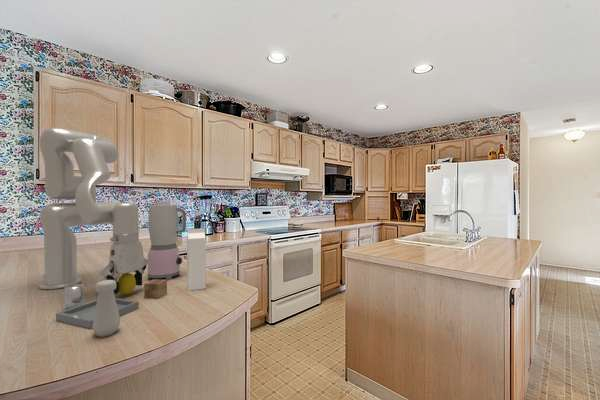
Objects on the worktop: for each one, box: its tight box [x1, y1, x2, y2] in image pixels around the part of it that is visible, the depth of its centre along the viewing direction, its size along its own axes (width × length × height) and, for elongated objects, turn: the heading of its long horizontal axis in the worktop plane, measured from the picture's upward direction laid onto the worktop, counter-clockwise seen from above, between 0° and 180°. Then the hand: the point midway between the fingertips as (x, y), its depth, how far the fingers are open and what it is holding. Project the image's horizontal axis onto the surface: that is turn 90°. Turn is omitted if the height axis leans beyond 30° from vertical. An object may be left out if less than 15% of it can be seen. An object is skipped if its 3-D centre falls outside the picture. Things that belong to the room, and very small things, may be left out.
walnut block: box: [143, 278, 168, 300], centre depth 96 cm, size 5×5×5 cm
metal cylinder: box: [64, 283, 85, 311], centre depth 85 cm, size 4×4×7 cm
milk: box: [186, 227, 207, 292], centre depth 105 cm, size 6×6×22 cm
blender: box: [147, 201, 187, 281], centre depth 118 cm, size 16×12×32 cm
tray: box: [55, 297, 140, 330], centre depth 81 cm, size 14×14×2 cm
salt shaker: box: [91, 279, 121, 338], centre depth 70 cm, size 6×6×13 cm
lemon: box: [117, 272, 137, 296], centre depth 96 cm, size 6×6×8 cm
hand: (126, 288), depth 96 cm, fingers open, 8 cm apart
